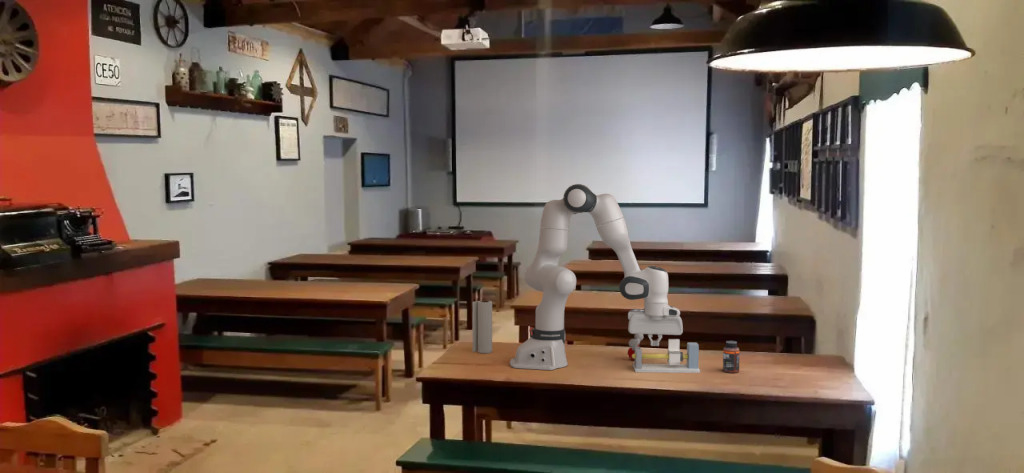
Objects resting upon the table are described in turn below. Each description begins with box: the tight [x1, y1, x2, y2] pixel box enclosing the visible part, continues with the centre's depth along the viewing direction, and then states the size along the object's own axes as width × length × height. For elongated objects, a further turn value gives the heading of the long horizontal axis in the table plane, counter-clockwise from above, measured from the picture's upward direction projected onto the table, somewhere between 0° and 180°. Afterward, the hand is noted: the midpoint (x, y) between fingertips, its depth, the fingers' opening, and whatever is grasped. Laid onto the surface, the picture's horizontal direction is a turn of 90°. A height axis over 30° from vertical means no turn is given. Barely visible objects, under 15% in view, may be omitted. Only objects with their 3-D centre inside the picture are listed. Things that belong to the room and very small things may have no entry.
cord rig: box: [632, 341, 701, 374], centre depth 299 cm, size 25×9×10 cm, turn 88°
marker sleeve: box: [666, 338, 681, 365], centre depth 299 cm, size 4×5×9 cm
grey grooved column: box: [472, 300, 493, 354], centre depth 327 cm, size 7×6×21 cm
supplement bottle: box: [722, 340, 740, 374], centre depth 296 cm, size 6×6×11 cm
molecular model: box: [627, 334, 644, 361], centre depth 314 cm, size 18×6×10 cm, turn 162°
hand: (654, 345), depth 299 cm, fingers closed
